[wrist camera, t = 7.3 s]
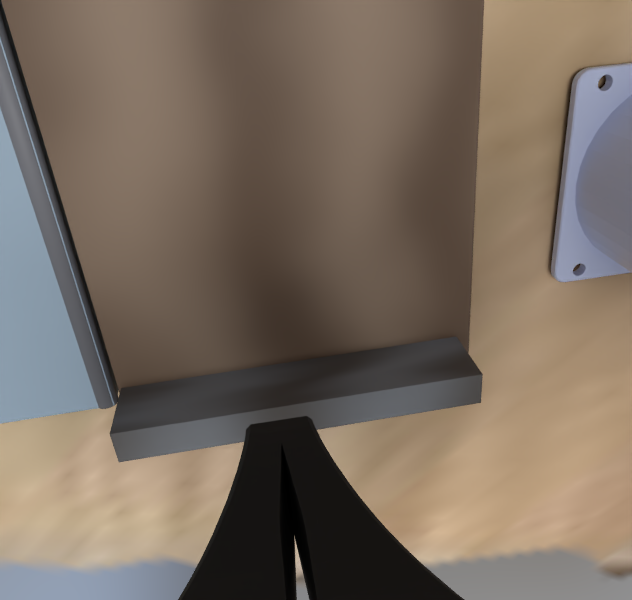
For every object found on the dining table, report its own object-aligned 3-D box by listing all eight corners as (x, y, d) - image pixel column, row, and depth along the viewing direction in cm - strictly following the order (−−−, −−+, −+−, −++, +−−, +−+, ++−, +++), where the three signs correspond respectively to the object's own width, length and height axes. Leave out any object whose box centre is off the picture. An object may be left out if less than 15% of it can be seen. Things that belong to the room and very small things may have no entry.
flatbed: (468, -332, 15) (556, -447, 11) (449, 334, 24) (494, 400, 21) (-63, -305, 14) (-175, -423, 10) (133, 383, 23) (115, 462, 19)
